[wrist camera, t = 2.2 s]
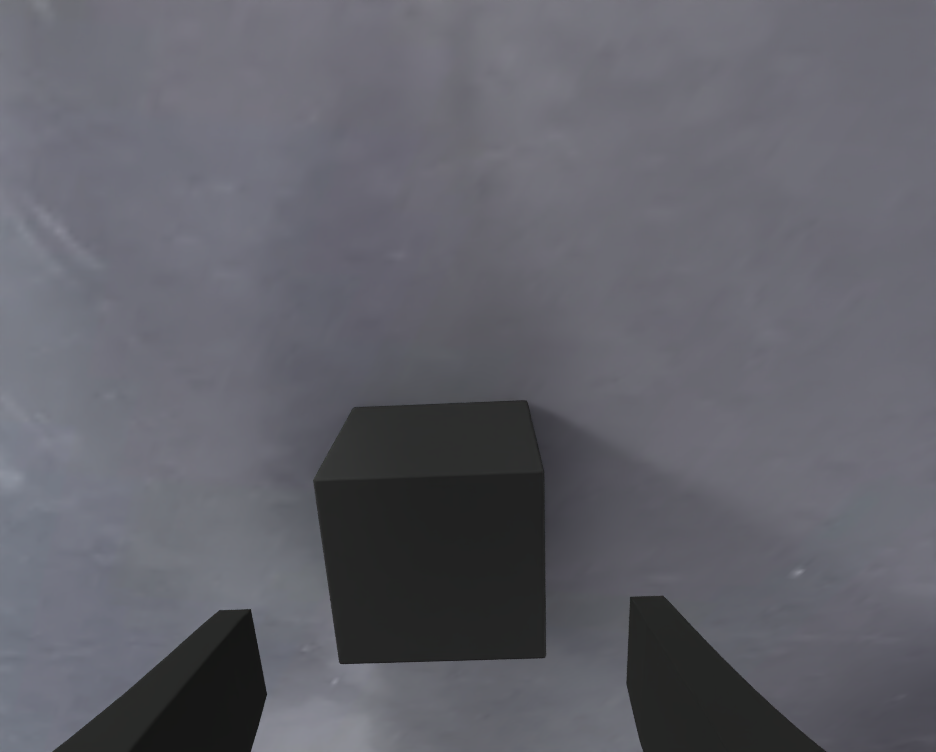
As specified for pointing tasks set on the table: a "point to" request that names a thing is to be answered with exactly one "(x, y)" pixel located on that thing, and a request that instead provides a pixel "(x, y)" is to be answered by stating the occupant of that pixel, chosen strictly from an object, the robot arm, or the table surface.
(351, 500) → the black block
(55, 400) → the table surface
